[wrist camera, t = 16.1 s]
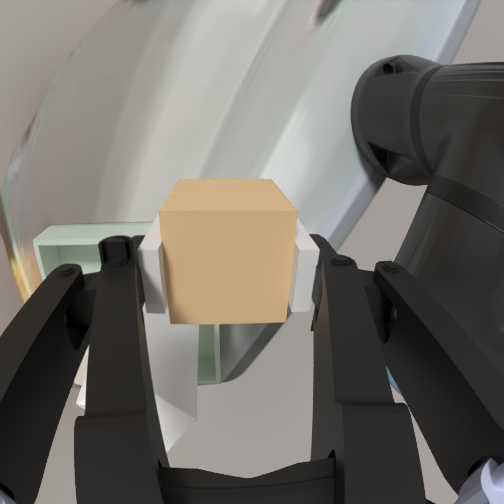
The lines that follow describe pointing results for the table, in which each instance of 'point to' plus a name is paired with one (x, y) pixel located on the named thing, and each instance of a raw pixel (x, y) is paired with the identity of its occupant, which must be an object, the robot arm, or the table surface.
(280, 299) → the box
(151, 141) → the table surface
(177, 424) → the milk
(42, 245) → the tray
